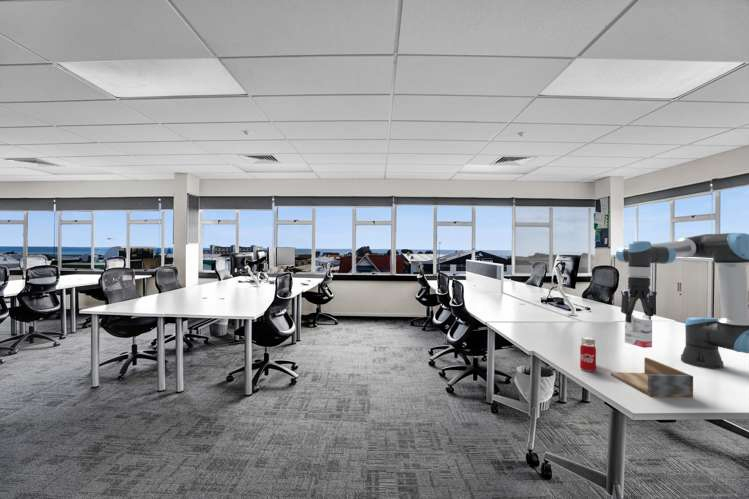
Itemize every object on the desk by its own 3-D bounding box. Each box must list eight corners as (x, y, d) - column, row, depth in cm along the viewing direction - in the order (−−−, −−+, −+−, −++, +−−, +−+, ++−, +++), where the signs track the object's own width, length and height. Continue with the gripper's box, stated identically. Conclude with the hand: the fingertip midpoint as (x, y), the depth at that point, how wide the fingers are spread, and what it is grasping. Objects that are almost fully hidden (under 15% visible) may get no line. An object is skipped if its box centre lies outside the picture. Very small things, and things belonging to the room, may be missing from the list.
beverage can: (577, 367, 157) (577, 342, 157) (589, 367, 157) (589, 342, 157) (586, 372, 151) (586, 346, 151) (599, 372, 151) (599, 346, 151)
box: (595, 366, 159) (595, 339, 159) (585, 365, 160) (585, 339, 160) (590, 362, 164) (590, 337, 164) (581, 362, 165) (581, 336, 165)
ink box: (652, 347, 138) (653, 319, 138) (643, 348, 137) (643, 319, 137) (632, 341, 146) (633, 315, 146) (623, 342, 145) (624, 315, 145)
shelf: (647, 375, 147) (647, 357, 147) (693, 397, 125) (693, 376, 125) (610, 375, 148) (610, 356, 148) (650, 396, 126) (650, 375, 126)
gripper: (654, 276, 145) (653, 328, 145) (610, 275, 146) (609, 327, 146) (668, 278, 138) (667, 333, 138) (623, 276, 138) (622, 331, 138)
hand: (638, 330), depth 142 cm, fingers closed on ink box, 6 cm apart
